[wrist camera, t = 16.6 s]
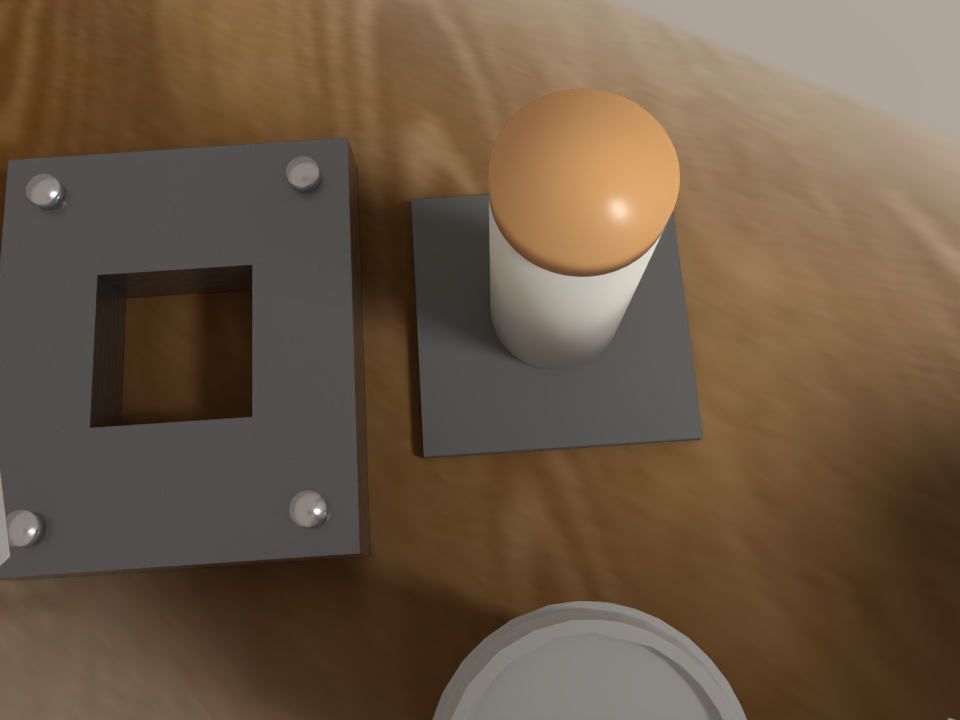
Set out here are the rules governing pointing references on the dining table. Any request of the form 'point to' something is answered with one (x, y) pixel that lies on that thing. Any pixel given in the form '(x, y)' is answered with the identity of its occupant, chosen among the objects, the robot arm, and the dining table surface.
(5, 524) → the robot arm
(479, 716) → the disposable coffee cup
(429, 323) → the mat
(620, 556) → the dining table surface
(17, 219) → the plate
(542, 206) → the white capped post
